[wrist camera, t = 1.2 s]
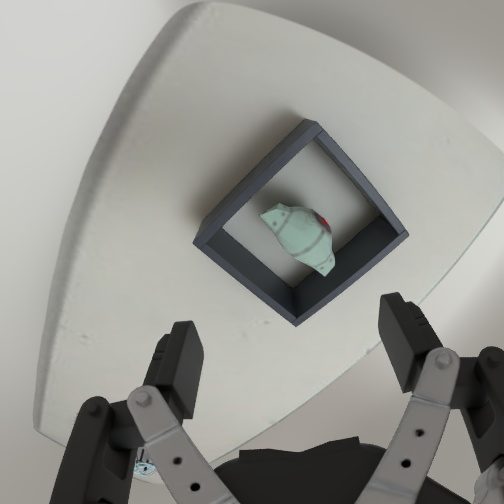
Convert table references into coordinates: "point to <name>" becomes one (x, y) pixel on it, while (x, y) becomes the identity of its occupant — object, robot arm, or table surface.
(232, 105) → the table surface
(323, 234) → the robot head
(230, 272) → the bin
